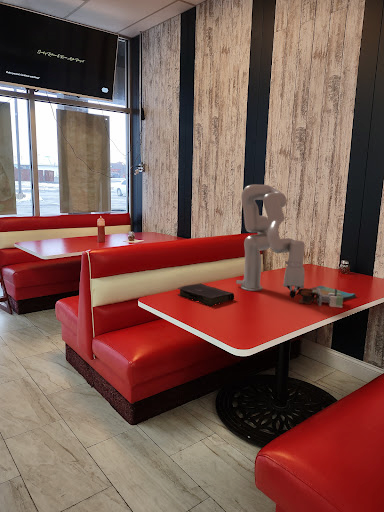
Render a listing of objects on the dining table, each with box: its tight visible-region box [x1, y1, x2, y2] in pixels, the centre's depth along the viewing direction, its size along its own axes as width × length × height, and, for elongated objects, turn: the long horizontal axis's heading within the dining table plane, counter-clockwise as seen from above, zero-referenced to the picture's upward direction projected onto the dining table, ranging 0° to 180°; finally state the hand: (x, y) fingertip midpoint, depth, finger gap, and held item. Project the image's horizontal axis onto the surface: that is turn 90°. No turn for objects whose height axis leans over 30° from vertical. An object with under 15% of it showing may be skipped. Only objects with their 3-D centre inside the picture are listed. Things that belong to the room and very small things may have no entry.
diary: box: [177, 282, 235, 308], centre depth 204 cm, size 19×25×5 cm
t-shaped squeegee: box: [316, 288, 338, 307], centre depth 200 cm, size 12×13×8 cm
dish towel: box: [309, 285, 357, 302], centre depth 218 cm, size 17×23×2 cm
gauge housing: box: [327, 293, 344, 309], centre depth 199 cm, size 6×10×5 cm, turn 168°
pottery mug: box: [296, 287, 319, 305], centre depth 202 cm, size 12×10×8 cm
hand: (292, 297), depth 204 cm, fingers closed
